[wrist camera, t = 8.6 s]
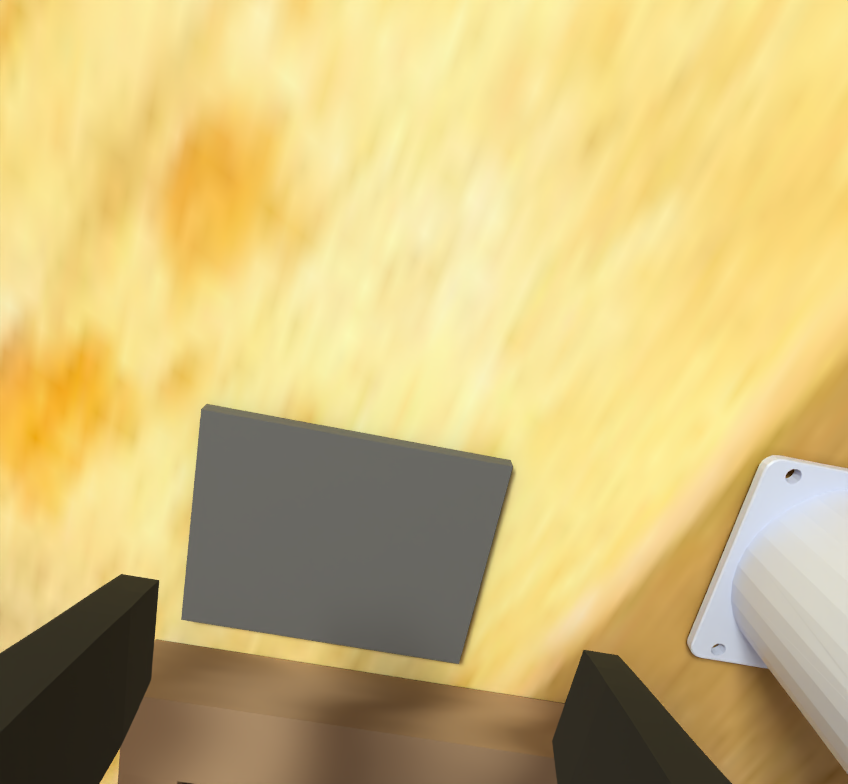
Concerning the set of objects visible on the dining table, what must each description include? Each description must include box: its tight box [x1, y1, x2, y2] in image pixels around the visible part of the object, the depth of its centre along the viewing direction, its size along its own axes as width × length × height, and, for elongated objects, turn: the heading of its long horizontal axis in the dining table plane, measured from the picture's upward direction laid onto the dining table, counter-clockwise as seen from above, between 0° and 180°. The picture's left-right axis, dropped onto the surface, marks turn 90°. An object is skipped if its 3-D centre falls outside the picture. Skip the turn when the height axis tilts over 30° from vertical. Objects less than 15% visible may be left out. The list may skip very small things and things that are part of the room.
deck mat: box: [181, 404, 513, 664], centre depth 20 cm, size 10×8×1 cm
